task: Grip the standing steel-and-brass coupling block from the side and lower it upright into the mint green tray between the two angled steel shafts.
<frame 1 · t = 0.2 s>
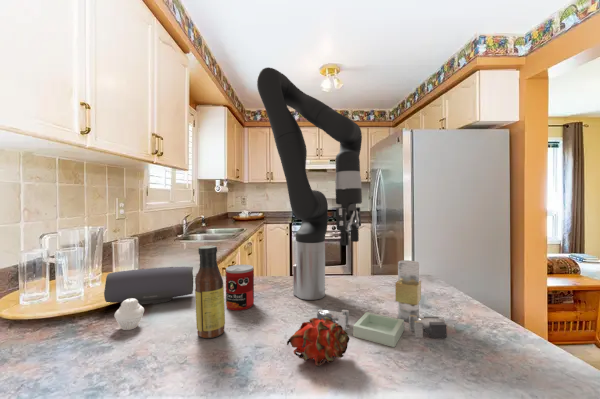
hand: (350, 243, 84), 18 cm above the countertop, tool pointing down, fingers open, 8 cm apart
muffin: (129, 328, 69), on the countertop
dragon fruit: (318, 361, 55), on the countertop
sauce bottle: (210, 334, 66), on the countertop
shaft b: (332, 318, 70), on the countertop
bluetooth speaker: (152, 302, 87), on the countertop
canned food: (240, 306, 83), on the countertop
shaft a: (427, 326, 65), on the countertop
mint green tray: (379, 333, 66), on the countertop
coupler: (408, 318, 74), on the countertop
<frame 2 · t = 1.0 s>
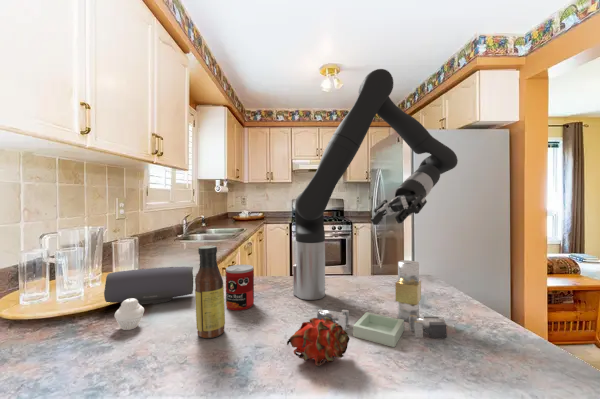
hand: (384, 221, 77), 24 cm above the countertop, tool tilted 60°, fingers open, 8 cm apart
nothing on the countertop moved.
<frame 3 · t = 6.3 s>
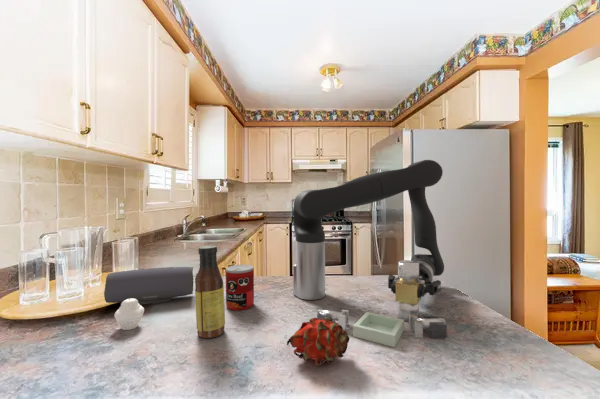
hand: (406, 291, 72), 8 cm above the countertop, tool horizontal, fingers closed on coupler, 5 cm apart
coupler: (408, 318, 74), on the countertop, touching gripper
everything else where it was.
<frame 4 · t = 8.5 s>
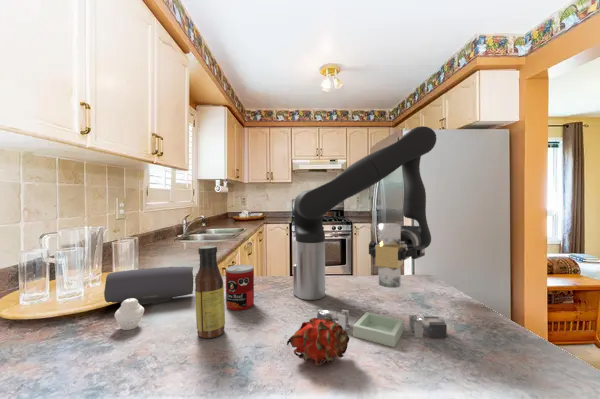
hand: (386, 254, 66), 18 cm above the countertop, tool horizontal, fingers closed on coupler, 5 cm apart
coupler: (389, 284, 68), point 10 cm above the countertop, touching gripper
everything else where it was.
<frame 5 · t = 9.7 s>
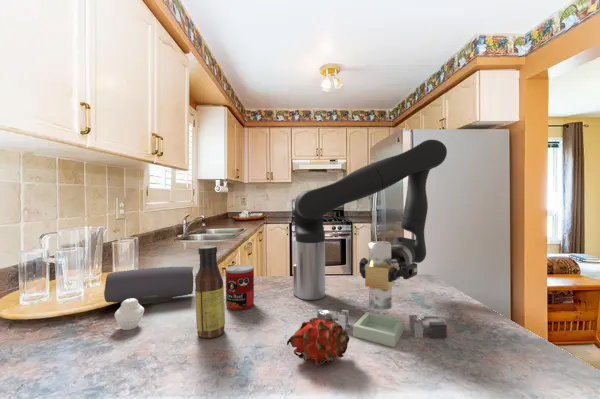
hand: (376, 275, 64), 14 cm above the countertop, tool horizontal, fingers closed on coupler, 5 cm apart
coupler: (380, 305, 66), point 6 cm above the countertop, touching gripper
everything else where it was.
when the fingers open (10 cm above the countertop, at t = 10.8 s): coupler drops 2 cm, resting on mint green tray.
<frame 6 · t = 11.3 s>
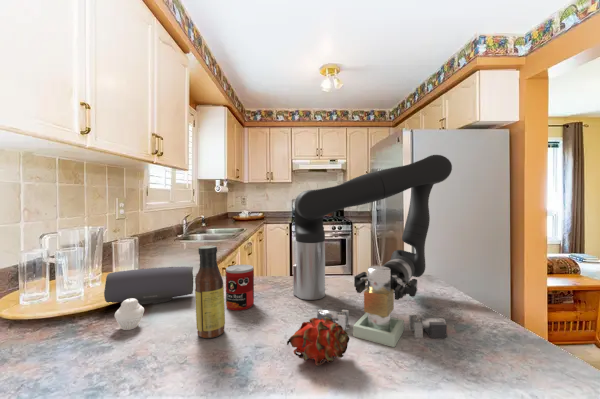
hand: (376, 291, 64), 10 cm above the countertop, tool horizontal, fingers open, 8 cm apart
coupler: (379, 331, 66), resting on mint green tray
everything else where it was.
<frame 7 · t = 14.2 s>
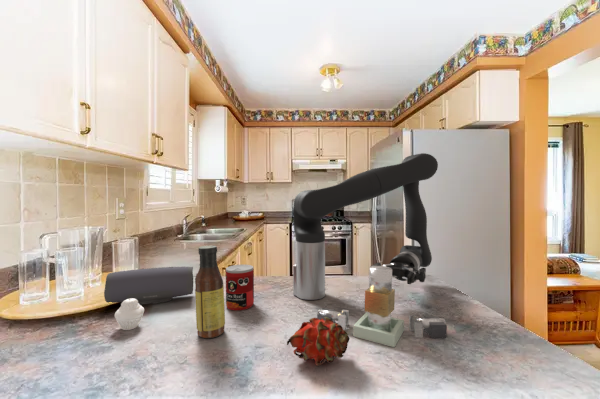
hand: (391, 277, 75), 10 cm above the countertop, tool horizontal, fingers open, 8 cm apart
nothing on the countertop moved.
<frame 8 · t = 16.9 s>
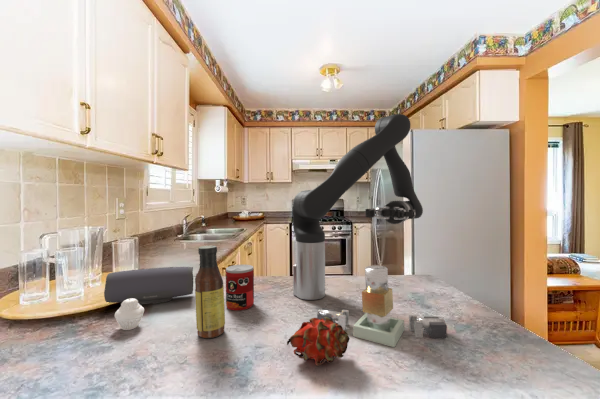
hand: (383, 214, 83), 26 cm above the countertop, tool horizontal, fingers open, 8 cm apart
at the end: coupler 0.2 cm off-centre on the mint green tray, point 0.5 cm above the mint green tray's base; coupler tilted 3°; the gripper is holding nothing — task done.
